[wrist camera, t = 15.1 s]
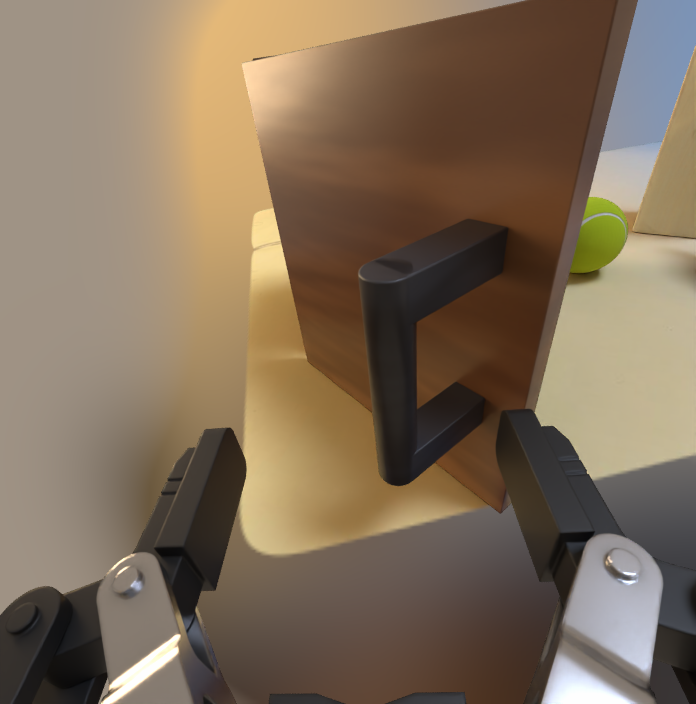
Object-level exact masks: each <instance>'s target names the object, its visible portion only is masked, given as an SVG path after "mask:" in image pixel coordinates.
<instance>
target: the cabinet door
mask: <svg viewBox="0 0 696 704" xmlns="http://www.w3.org/2000/svg"><path fill="white" fill-rule="evenodd" d="M637 2H638V0H525V1H521V2H516V3H512V4H507V5H503V6H498V7H494V8H489V9H485V10H480V11H476V12H471V13H467V14H462V15H458V16H453V17H449V18H444V19H439V20H435V21H430V22H426V23H421V24H417V25H412V26H408V27H404V28H398V29H394V30H389V31H385V32H381V33H376V34H371V35H367V36H362V37H358V38H354V39H349V40H344V41H340V42H335V43H331V44H326V45H322V46H317V47H312V48H308V49H303V50H299V51H294V52H290V53H285V54H281V55H276V56H272V57H267V58H263V59H258V60H253V61H249V62H244V63H242V68H243V72H244V77H245V81H246V85H247V90H248V95H249V99H250V103H251V108H252V112H253V117H254V122H255V126H256V131H257V135H258V139H259V144H260V148H261V153H262V157H263V162H264V166H265V171H266V175H267V180H268V185H269V189H270V193H271V198H272V203H273V207H274V212H275V216H276V221H277V225H278V230H279V234H280V239H281V243H282V248H283V252H284V257H285V261H286V266H287V270H288V275H289V279H290V284H291V288H292V293H293V297H294V302H295V306H296V311H297V315H298V320H299V324H300V329H301V333H302V338H303V342H304V347H305V351H306V356H307V360H308V362H309V363H311V364H312V365H313V366H314V367H316V368H317V369H318V370H319V371H321V372H322V373H323V374H324V375H326V376H327V377H328V378H329V379H331V380H332V381H333V382H335V383H336V384H337V385H338V386H340V387H341V388H342V389H343V390H345V391H346V392H347V393H348V394H350V395H351V396H352V397H354V398H355V399H356V400H357V401H359V402H360V403H361V404H362V405H364V406H365V407H366V408H367V409H369V410H370V411H371V412H372V413H373V422H374V431H375V441H376V451H377V460H378V470H379V474H380V476H381V478H382V479H383V480H384V481H385V482H387V483H388V484H390V485H394V486H403V485H406V484H409V483H410V482H412V481H413V480H414V479H415V478H417V477H418V476H419V475H420V474H421V473H423V472H424V471H425V470H426V469H427V468H429V467H430V466H431V465H432V464H433V463H435V462H436V463H437V464H438V465H439V466H441V467H442V468H443V469H445V470H446V471H447V472H448V473H450V474H451V475H452V476H453V477H455V478H456V479H457V480H458V481H460V482H461V483H462V484H463V485H465V486H466V487H467V488H469V489H470V490H471V491H472V492H474V493H475V494H476V495H477V496H479V497H480V498H481V499H482V500H484V501H485V502H486V503H487V504H489V505H490V506H491V507H493V508H494V509H495V510H496V511H498V512H499V513H502V512H503V511H504V510H505V509H506V508H507V507H508V506H509V505H510V504H511V500H510V497H509V494H508V492H507V489H506V486H505V483H504V480H503V478H502V475H501V472H500V469H499V466H498V463H497V459H496V450H495V446H496V439H497V433H498V427H499V422H500V416H501V412H502V411H503V410H514V409H532V410H533V412H535V408H536V404H537V400H538V396H539V392H540V388H541V384H542V380H543V376H544V372H545V368H546V364H547V360H548V356H549V352H550V348H551V344H552V340H553V336H554V332H555V328H556V324H557V320H558V317H559V313H560V309H561V305H562V301H563V297H564V293H565V289H566V285H567V281H568V277H569V273H570V269H571V265H572V261H573V257H574V253H575V249H576V245H577V241H578V237H579V233H580V229H581V225H582V221H583V217H584V213H585V209H586V205H587V201H588V197H589V193H590V189H591V185H592V181H593V177H594V173H595V169H596V165H597V161H598V157H599V153H600V149H601V145H602V141H603V137H604V133H605V129H606V125H607V121H608V117H609V113H610V109H611V105H612V101H613V97H614V93H615V89H616V85H617V81H618V77H619V73H620V69H621V65H622V61H623V57H624V53H625V49H626V45H627V42H628V38H629V33H630V29H631V25H632V22H633V17H634V13H635V10H636V6H637Z"/></svg>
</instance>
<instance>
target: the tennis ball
mask: <svg viewBox="0 0 696 704" xmlns="http://www.w3.org/2000/svg"><path fill="white" fill-rule="evenodd" d="M627 235H628V224H627V220H626V217H625V215H624V213H623V212H622V211H621V209H620V208H619V207H618V206H617V205H615V204H614V203H612V202H610V201H608V200H606V199H603V198H597V197H588V201H587V205H586V209H585V213H584V217H583V221H582V225H581V229H580V233H579V237H578V241H577V245H576V249H575V253H574V257H573V261H572V265H571V269H570V273H586V272H591V271H595V270H597V269H600V268H602V267H604V266H606V265H607V264H609V263H610V262H611V261H613V260H614V259H615V258H616V257H617V256H618V254H619V253H620V252H621V250H622V249H623V247H624V245H625V242H626V239H627Z"/></svg>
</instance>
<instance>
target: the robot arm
mask: <svg viewBox="0 0 696 704" xmlns="http://www.w3.org/2000/svg"><path fill="white" fill-rule="evenodd" d="M495 450H496V459H497V463H498V466H499V469H500V472H501V475H502V478H503V480H504V483H505V486H506V489H507V492H508V494H509V497H510V500H511V503H512V505H513V508H514V511H515V514H516V517H517V519H518V522H519V525H520V528H521V531H522V533H523V536H524V539H525V542H526V544H527V547H528V550H529V553H530V556H531V559H532V561H533V564H534V567H535V570H536V573H537V575H538V578H539V581H540V582H551V581H554V582H555V585H556V587H557V590H558V592H559V595H560V597H559V600H558V603H557V606H556V609H555V612H554V615H553V618H552V622H551V624H550V628H549V631H548V634H547V637H546V640H545V643H544V646H543V649H542V653H541V656H540V659H539V662H538V665H537V668H536V671H535V674H534V677H533V680H532V682H531V684H530V687H529V689H528V692H527V695H526V697H525V700H524V703H523V704H656V697H655V694H654V692H653V691H652V690H651V688H650V673H651V666H652V659H654V660H657V661H660V662H663V663H666V664H669V665H671V666H672V668H673V670H674V672H675V674H676V676H677V678H678V681H679V683H680V685H681V687H682V689H683V691H684V693H685V695H686V697H687V699H688V702H689V703H690V704H696V570H693V569H689V568H685V567H681V566H677V565H674V564H670V563H667V562H664V561H661V560H658V559H656V558H654V557H651V555H649V553H647V551H646V550H644V549H643V548H642V547H641V546H639V545H638V544H636V543H635V542H633V541H631V540H629V539H628V538H627V537H626V536H625V535H624V534H623V532H622V531H621V529H620V528H619V526H618V525H617V523H616V521H615V519H614V518H613V516H612V514H611V512H610V511H609V509H608V507H607V505H606V504H605V502H604V500H603V498H602V497H601V495H600V493H599V492H598V490H597V488H596V486H595V485H594V483H593V481H592V479H591V477H590V476H589V474H587V470H586V469H585V467H584V465H583V463H582V462H581V460H579V456H578V455H577V453H576V451H575V449H574V448H573V446H572V444H571V443H570V441H569V440H568V439H567V438H566V437H565V436H564V435H563V434H562V433H560V432H559V431H558V430H557V429H556V428H555V427H554V426H544V427H541V425H540V423H539V421H538V419H537V417H536V415H535V413H534V412H533V410H532V409H514V410H503V411H502V412H501V416H500V422H499V427H498V433H497V439H496V446H495ZM246 470H247V469H246V460H245V457H244V455H243V452H242V450H241V448H240V445H239V443H238V441H237V439H236V436H235V434H234V431H233V430H232V429H231V428H217V429H206V430H204V431H203V433H202V434H201V436H200V439H199V441H198V443H197V446H196V448H188V449H187V450H186V451H185V452H184V453H183V454H182V455H181V456H180V458H179V459H178V460H177V461H176V462H175V464H174V466H173V468H172V470H171V472H170V475H169V477H168V482H166V483H165V486H164V488H163V490H162V492H161V493H162V494H161V496H159V498H158V501H157V503H156V505H155V507H154V509H153V511H152V514H151V516H150V518H149V520H148V522H147V524H146V527H145V529H144V531H143V533H142V536H141V538H140V540H139V542H138V545H137V546H136V548H135V550H134V552H133V553H132V555H129V556H127V557H125V558H124V559H122V560H121V561H119V562H118V563H117V564H116V565H115V566H113V567H112V569H110V571H109V572H108V573H107V574H106V576H105V577H104V579H102V580H99V581H97V582H95V583H91V584H89V585H86V586H84V587H81V588H78V589H75V590H73V591H70V592H67V593H65V594H61V593H60V592H59V591H57V590H56V589H55V588H53V587H49V586H43V587H38V588H35V589H33V590H30V591H28V592H26V593H25V594H23V595H22V596H20V597H19V598H18V599H16V600H15V601H14V602H13V603H11V605H9V606H8V607H7V608H6V610H5V611H4V612H3V613H2V614H1V615H0V704H98V702H99V700H100V697H101V694H102V691H103V688H104V685H105V683H106V680H107V678H108V679H109V691H108V694H107V695H105V696H104V697H103V699H102V701H101V704H237V703H236V701H235V699H234V697H233V695H232V693H231V691H230V689H229V687H228V686H227V684H226V682H225V680H224V678H223V676H222V673H221V671H220V668H219V665H218V662H217V660H216V657H215V654H214V651H213V649H212V646H211V643H210V640H209V637H208V635H207V632H206V629H205V626H204V623H203V621H202V618H201V615H200V612H199V610H198V608H197V603H198V599H199V596H200V593H201V591H214V590H216V587H217V582H218V579H219V575H220V572H221V568H222V564H223V561H224V557H225V553H226V549H227V546H228V542H229V538H230V535H231V531H232V527H233V524H234V520H235V516H236V512H237V509H238V505H239V501H240V498H241V494H242V490H243V486H244V483H245V479H246ZM269 704H344V703H341V702H339V701H336V700H333V699H330V698H327V697H324V696H322V695H319V694H270V698H269ZM386 704H466V699H465V693H464V692H441V693H440V692H439V693H438V692H437V693H413V694H411V695H408V696H405V697H402V698H399V699H397V700H394V701H392V702H389V703H386Z"/></svg>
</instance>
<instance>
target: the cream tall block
mask: <svg viewBox="0 0 696 704" xmlns="http://www.w3.org/2000/svg"><path fill="white" fill-rule="evenodd" d="M632 230H633V231H634V232H639V233H649V234H660V235H669V236H679V237H689V238H696V46H695V49H694V52H693V55H692V58H691V61H690V64H689V67H688V69H687V73H686V75H685V78H684V81H683V84H682V87H681V90H680V93H679V96H678V98H677V101H676V105H675V108H674V110H673V113H672V116H671V119H670V122H669V125H668V128H667V130H666V134H665V136H664V139H663V142H662V145H661V148H660V150H659V153H658V156H657V159H656V162H655V165H654V168H653V171H652V174H651V177H650V180H649V182H648V185H647V188H646V191H645V194H644V197H643V200H642V203H641V206H640V208H639V211H638V214H637V217H636V220H635V223H634V226H633V229H632Z"/></svg>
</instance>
